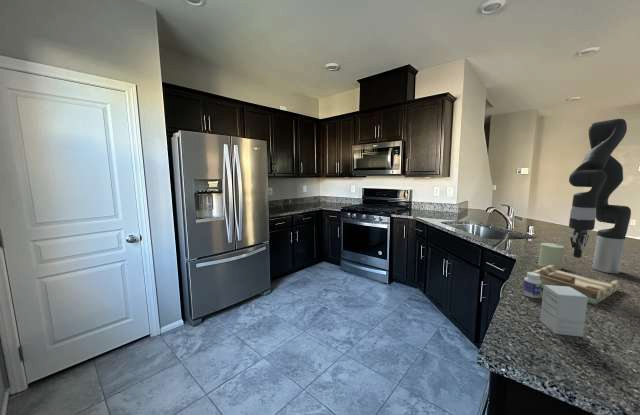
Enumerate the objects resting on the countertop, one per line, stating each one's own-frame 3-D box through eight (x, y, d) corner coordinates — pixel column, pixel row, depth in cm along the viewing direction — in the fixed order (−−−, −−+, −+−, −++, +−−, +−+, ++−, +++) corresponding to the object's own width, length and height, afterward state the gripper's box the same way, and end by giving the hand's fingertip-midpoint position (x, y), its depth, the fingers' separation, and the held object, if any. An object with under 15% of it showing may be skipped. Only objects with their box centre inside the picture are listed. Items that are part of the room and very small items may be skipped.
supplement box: (565, 323, 81) (570, 286, 80) (583, 337, 74) (589, 297, 72) (538, 320, 83) (543, 283, 81) (553, 334, 76) (559, 294, 74)
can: (566, 270, 127) (569, 247, 126) (545, 268, 129) (548, 246, 128) (553, 264, 136) (556, 242, 135) (534, 262, 138) (536, 241, 137)
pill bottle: (536, 299, 97) (539, 277, 96) (520, 294, 101) (522, 272, 100) (541, 296, 100) (544, 274, 99) (525, 290, 104) (528, 270, 103)
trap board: (550, 272, 125) (552, 262, 124) (617, 289, 105) (619, 278, 105) (525, 282, 112) (526, 271, 112) (595, 304, 93) (597, 291, 92)
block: (555, 280, 109) (556, 272, 109) (574, 286, 104) (575, 277, 104) (549, 283, 107) (550, 274, 106) (568, 289, 101) (569, 279, 101)
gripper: (576, 215, 113) (571, 252, 115) (564, 217, 106) (559, 257, 109) (600, 217, 106) (595, 257, 109) (589, 220, 100) (583, 262, 102)
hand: (577, 257), depth 109 cm, fingers closed
